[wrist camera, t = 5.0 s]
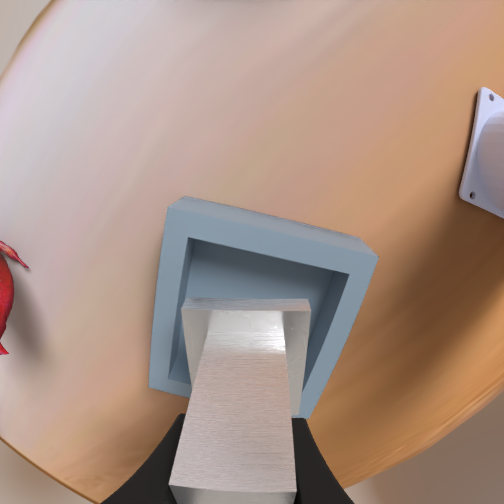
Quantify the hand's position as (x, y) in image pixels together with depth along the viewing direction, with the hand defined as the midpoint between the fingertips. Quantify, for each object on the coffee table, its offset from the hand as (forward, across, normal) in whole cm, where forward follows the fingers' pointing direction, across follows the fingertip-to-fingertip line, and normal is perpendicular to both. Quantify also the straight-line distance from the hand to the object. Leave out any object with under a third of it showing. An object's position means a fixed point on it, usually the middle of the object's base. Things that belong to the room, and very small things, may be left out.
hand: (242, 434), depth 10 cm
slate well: (+10, 0, 0) cm, 10 cm away
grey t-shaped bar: (+4, 0, 0) cm, 4 cm away
